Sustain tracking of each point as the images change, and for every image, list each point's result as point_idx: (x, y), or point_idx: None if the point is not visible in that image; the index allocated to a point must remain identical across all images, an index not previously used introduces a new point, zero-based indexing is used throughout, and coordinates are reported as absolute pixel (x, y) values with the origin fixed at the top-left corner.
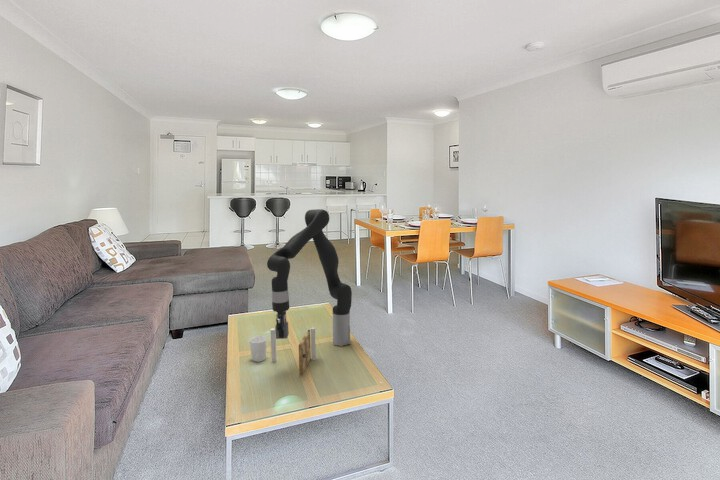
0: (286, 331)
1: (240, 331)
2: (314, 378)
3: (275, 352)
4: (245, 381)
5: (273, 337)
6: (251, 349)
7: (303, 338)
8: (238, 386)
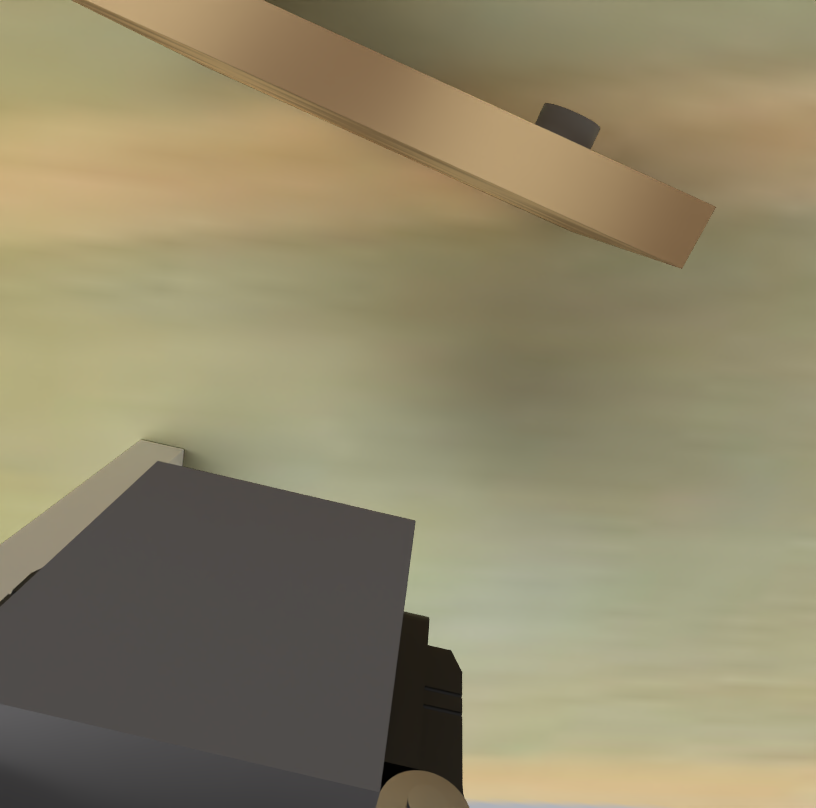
0: (396, 638)
1: None
2: (718, 54)
3: None
4: (517, 721)
5: None
6: None
7: (333, 98)
8: (584, 770)
